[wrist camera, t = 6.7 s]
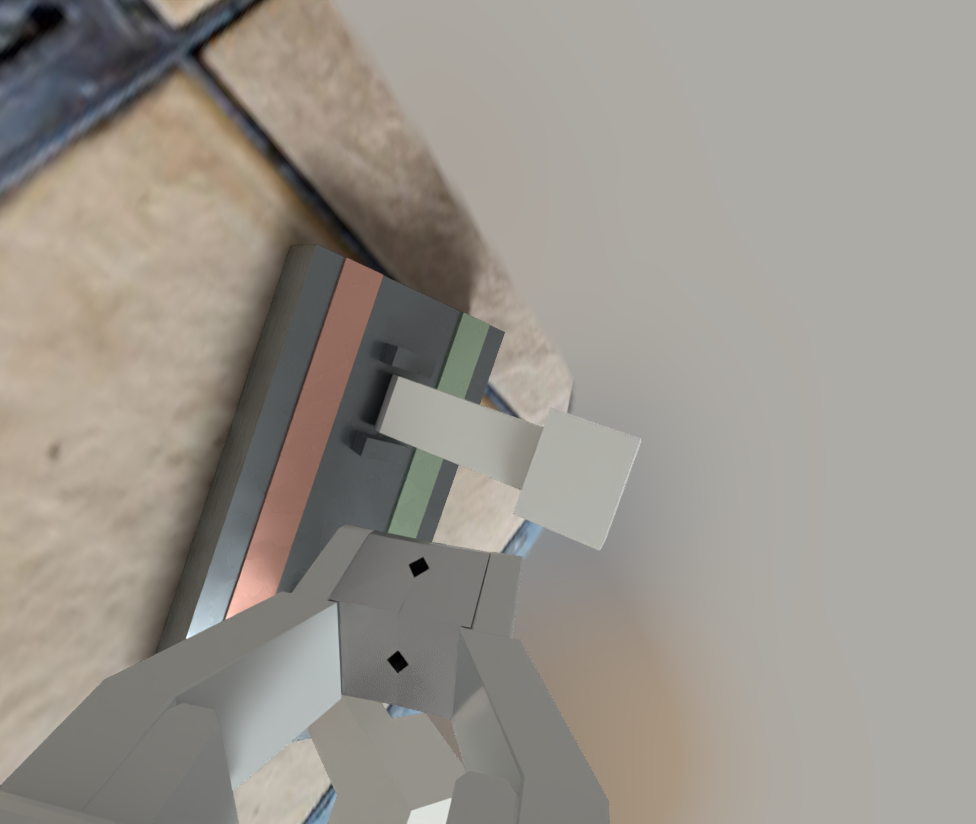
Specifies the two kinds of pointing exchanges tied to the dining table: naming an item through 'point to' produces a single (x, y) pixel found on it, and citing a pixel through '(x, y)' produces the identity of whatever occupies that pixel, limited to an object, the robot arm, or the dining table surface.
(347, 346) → the breaker box
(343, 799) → the lever
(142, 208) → the dining table surface
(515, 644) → the robot arm
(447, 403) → the on lever
